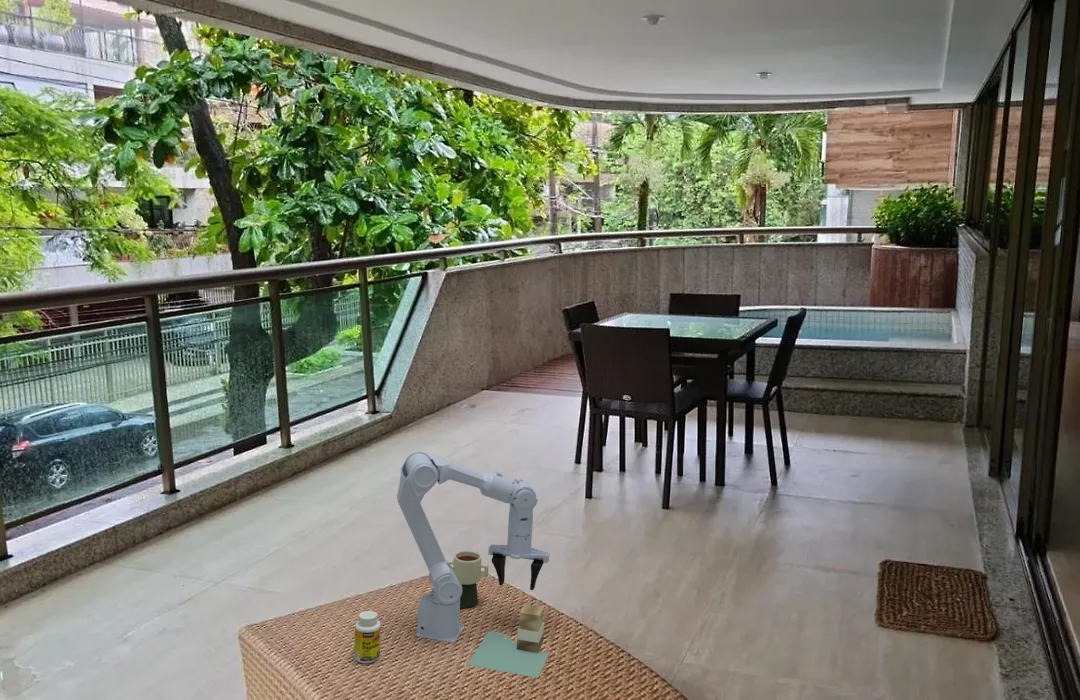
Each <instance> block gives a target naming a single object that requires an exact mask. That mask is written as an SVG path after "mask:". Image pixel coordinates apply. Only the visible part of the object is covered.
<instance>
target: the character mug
mask: <svg viewBox="0 0 1080 700" xmlns="http://www.w3.org/2000/svg"><path fill="white" fill-rule="evenodd" d="M446 562H447V563H448V564H449V565H452V567H453V568H454V570H455V574H456V576H457V578H458V580H459V582H460V583H461V585H462V595H461V597H460V608H471V607H473V606H476V605H477V603H479V599H478V597H479V596H478V595H479V594H478V585H477V583H478V582H479V581H480V580H481V578H485V577H487V578H488V576H489V565H488V564H486V563H485V564H483V563H482V554H481V553H480V552H477V551H476V550H475V551H474V550H461V551H457V552H456V553H454V555H453V560H446ZM482 569H484V572H482Z"/></svg>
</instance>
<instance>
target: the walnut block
mask: <svg viewBox="0 0 1080 700" xmlns="http://www.w3.org/2000/svg"><path fill="white" fill-rule="evenodd" d="M544 633H545V632H544ZM544 633H543V635H542V637H541V639H540V641H539V643H536V642H530V641H524V640H519V639H517V650H523V651H528V652H534V653H538V652H539V650H540V648H541V646H542V643H543V641H544Z"/></svg>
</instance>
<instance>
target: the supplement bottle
mask: <svg viewBox="0 0 1080 700" xmlns="http://www.w3.org/2000/svg"><path fill="white" fill-rule="evenodd" d="M381 629H382V627H381V622H380V621H379V620H378V613H377V612H376V611H373V610H365V611H362V612H360V613H359V614H358V620H357V621H356V622H355V625H354V644H353V645H354V646H353V648H354V649H353V650H354V651H353V653H354V654H353V657H354V660H355V661H357V662H358V663H361V664H371V663H374V662H376V661H377V660H379V658H380V656H381V655H380V653H381Z"/></svg>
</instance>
